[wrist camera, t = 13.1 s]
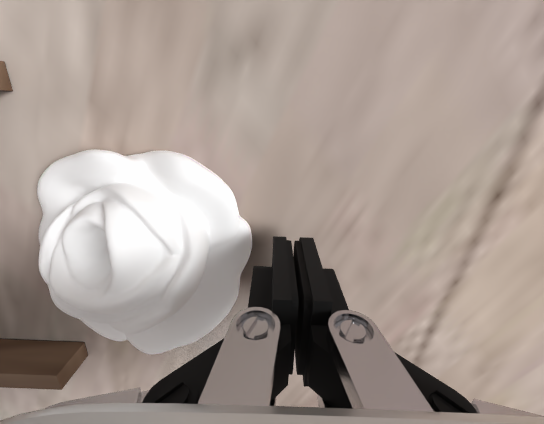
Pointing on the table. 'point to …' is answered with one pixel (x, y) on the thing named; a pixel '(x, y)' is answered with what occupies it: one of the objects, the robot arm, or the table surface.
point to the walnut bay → (37, 345)
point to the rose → (141, 245)
